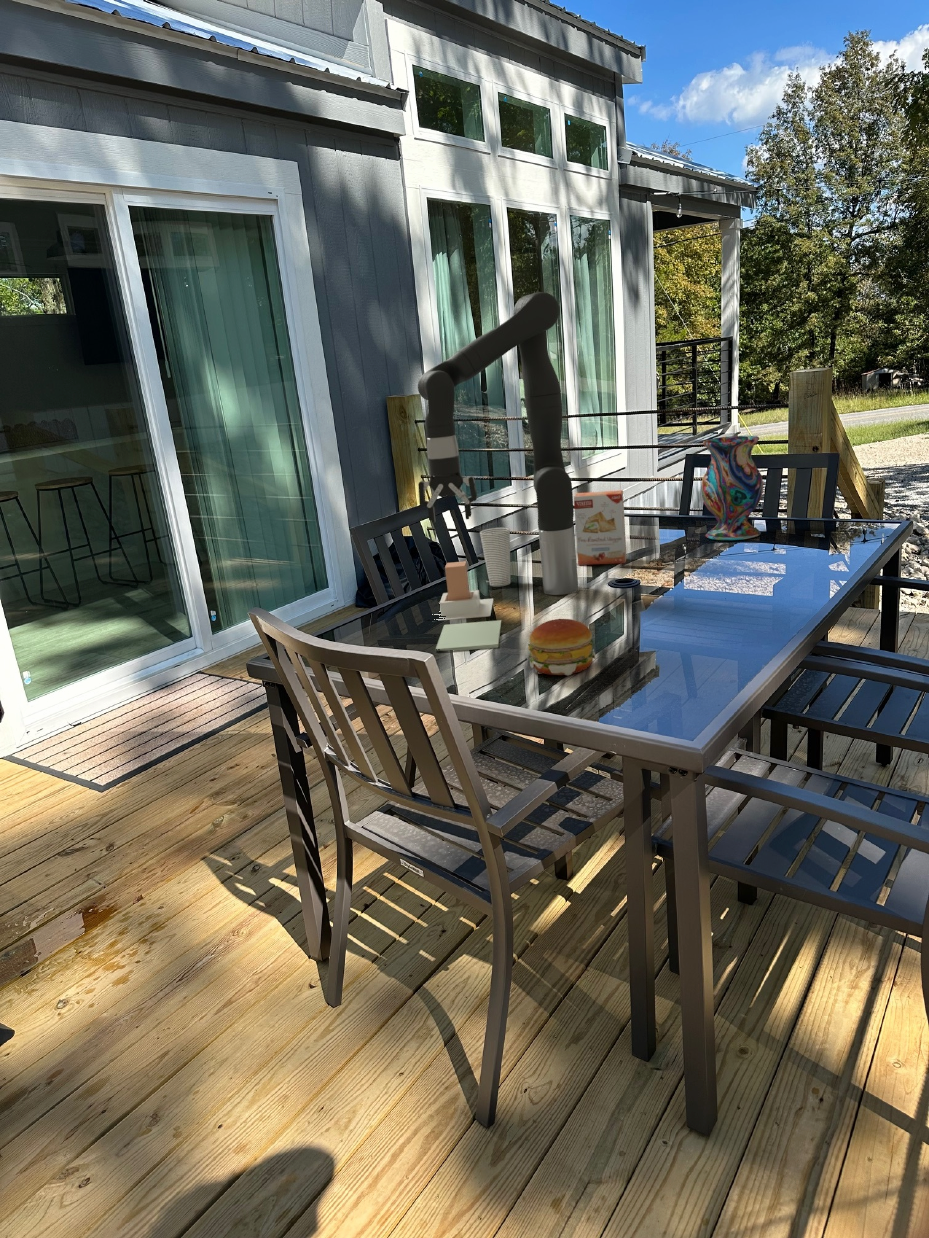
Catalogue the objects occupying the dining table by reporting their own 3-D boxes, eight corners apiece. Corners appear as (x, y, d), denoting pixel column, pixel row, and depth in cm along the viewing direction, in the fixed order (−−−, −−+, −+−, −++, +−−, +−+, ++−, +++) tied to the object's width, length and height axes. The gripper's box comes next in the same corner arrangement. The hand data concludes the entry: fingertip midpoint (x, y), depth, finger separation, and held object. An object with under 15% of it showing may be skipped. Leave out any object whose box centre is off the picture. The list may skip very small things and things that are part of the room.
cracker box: (577, 566, 254) (572, 496, 248) (580, 561, 260) (575, 492, 254) (625, 563, 251) (621, 492, 245) (627, 558, 256) (623, 489, 250)
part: (471, 606, 224) (466, 561, 220) (469, 611, 219) (464, 565, 215) (452, 607, 224) (446, 563, 221) (450, 613, 219) (444, 567, 216)
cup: (512, 587, 240) (507, 532, 235) (482, 588, 241) (476, 534, 237) (517, 579, 247) (511, 526, 243) (488, 581, 249) (482, 528, 245)
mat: (501, 623, 208) (501, 620, 208) (498, 647, 191) (497, 644, 191) (444, 628, 210) (444, 624, 209) (436, 652, 192) (435, 649, 192)
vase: (690, 537, 274) (687, 442, 266) (735, 527, 281) (733, 434, 273) (730, 545, 258) (727, 444, 250) (776, 534, 265) (776, 435, 257)
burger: (590, 653, 181) (587, 608, 178) (602, 675, 168) (599, 627, 165) (527, 661, 181) (522, 615, 178) (534, 684, 168) (529, 635, 165)
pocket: (493, 600, 228) (492, 585, 227) (490, 618, 213) (488, 602, 212) (434, 605, 230) (432, 591, 229) (426, 623, 215) (424, 607, 214)
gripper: (473, 450, 213) (479, 515, 218) (416, 456, 215) (424, 520, 219) (471, 454, 206) (477, 520, 211) (412, 459, 208) (420, 525, 212)
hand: (450, 520), depth 215 cm, fingers open, 8 cm apart
